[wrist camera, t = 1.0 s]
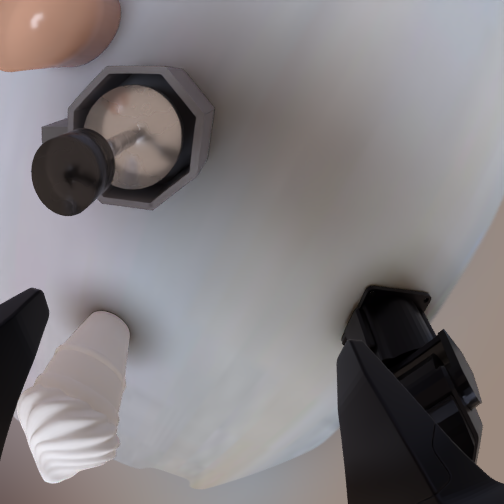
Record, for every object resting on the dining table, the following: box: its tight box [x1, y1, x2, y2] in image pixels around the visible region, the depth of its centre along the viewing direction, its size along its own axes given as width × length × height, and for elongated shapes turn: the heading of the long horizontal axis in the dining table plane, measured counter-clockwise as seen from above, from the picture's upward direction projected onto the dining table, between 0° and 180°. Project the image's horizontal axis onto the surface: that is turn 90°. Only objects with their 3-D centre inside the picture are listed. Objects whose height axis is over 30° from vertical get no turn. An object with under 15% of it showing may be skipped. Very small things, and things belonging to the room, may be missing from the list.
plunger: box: [31, 85, 184, 216], centre depth 12 cm, size 6×6×7 cm
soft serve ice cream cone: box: [17, 311, 130, 483], centre depth 19 cm, size 8×8×16 cm
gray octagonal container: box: [42, 66, 215, 210], centre depth 15 cm, size 10×8×4 cm
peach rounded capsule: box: [0, 0, 121, 72], centre depth 10 cm, size 6×6×6 cm
